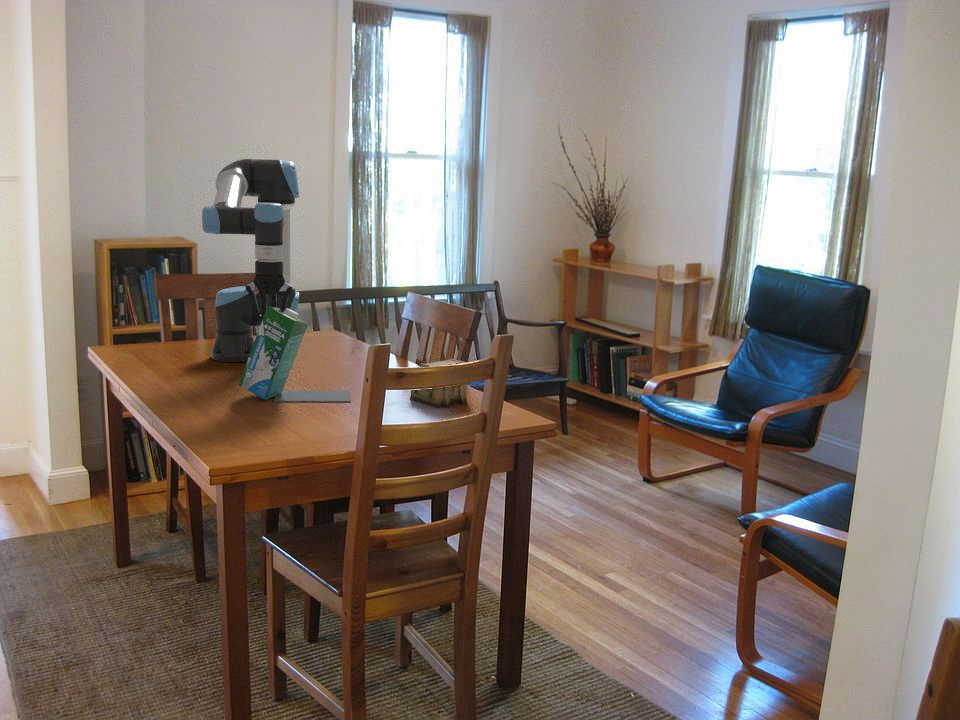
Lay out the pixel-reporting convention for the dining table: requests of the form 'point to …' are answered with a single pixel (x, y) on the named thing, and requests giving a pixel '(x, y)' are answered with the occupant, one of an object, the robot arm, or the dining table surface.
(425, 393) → the miniature house
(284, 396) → the mat
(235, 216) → the robot arm
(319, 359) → the dining table surface
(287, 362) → the milk carton
